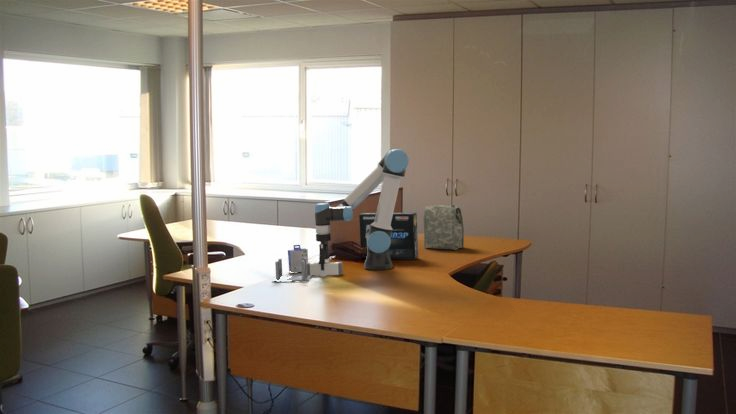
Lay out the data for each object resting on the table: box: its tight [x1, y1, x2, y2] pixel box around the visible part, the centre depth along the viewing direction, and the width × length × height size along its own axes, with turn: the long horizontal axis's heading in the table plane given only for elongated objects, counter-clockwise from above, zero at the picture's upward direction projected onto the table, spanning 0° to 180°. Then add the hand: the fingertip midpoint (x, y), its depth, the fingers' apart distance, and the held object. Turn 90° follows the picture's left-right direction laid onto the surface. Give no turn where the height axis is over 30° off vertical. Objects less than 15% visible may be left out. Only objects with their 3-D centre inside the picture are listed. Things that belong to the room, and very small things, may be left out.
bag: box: [422, 204, 465, 251], centre depth 428 cm, size 22×16×27 cm
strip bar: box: [307, 261, 343, 276], centre depth 355 cm, size 18×4×6 cm, turn 86°
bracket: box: [274, 258, 312, 282], centre depth 344 cm, size 18×12×10 cm, turn 86°
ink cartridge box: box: [287, 244, 309, 272], centre depth 363 cm, size 10×6×14 cm, turn 114°
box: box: [358, 212, 419, 261], centre depth 396 cm, size 33×8×27 cm, turn 68°
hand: (324, 273), depth 355 cm, fingers open, 13 cm apart
